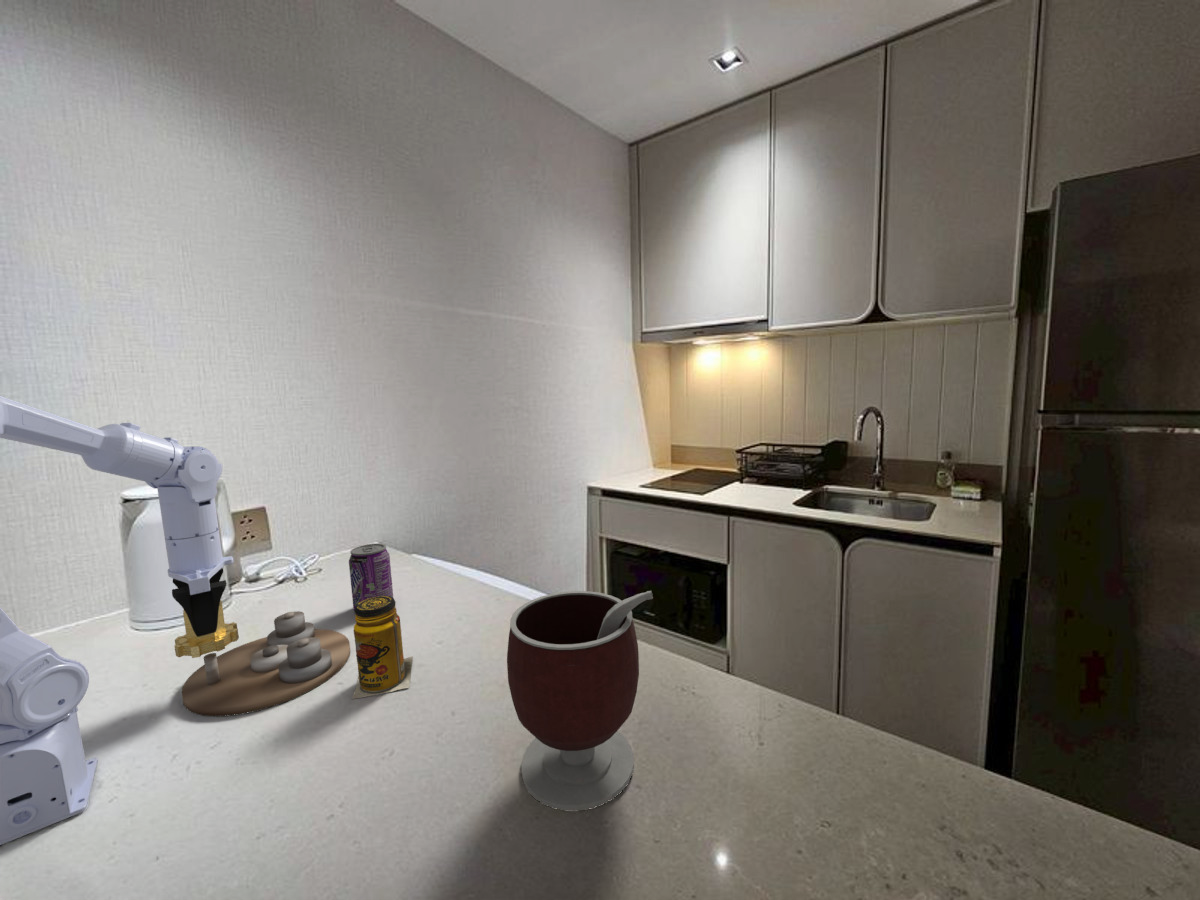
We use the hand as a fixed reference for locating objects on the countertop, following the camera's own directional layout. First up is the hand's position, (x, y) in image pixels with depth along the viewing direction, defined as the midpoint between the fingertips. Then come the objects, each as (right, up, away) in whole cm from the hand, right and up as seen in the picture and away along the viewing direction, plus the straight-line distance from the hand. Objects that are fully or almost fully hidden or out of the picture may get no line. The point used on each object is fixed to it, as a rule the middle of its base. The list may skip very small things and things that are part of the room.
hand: (205, 627), depth 69 cm
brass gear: (0, -2, 0) cm, 3 cm away
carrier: (+6, -9, +6) cm, 12 cm away
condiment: (+24, -9, +3) cm, 26 cm away
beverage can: (+12, -6, +26) cm, 29 cm away
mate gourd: (+54, -10, -15) cm, 57 cm away
